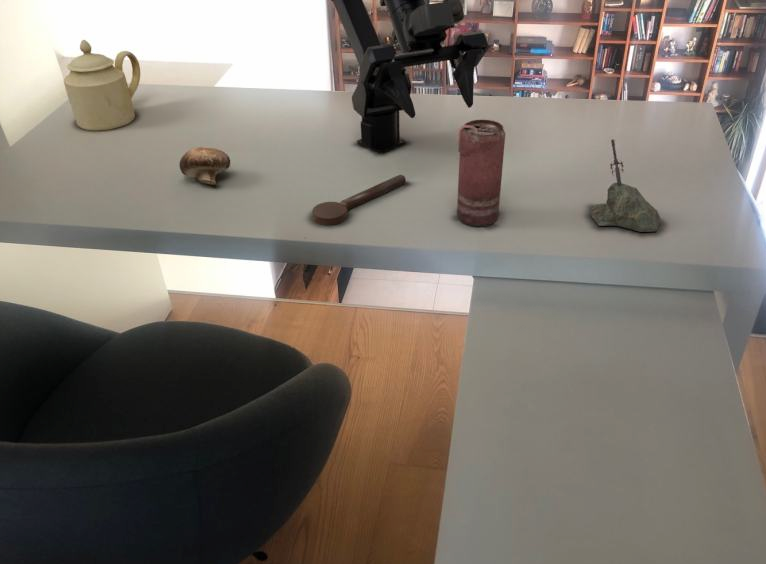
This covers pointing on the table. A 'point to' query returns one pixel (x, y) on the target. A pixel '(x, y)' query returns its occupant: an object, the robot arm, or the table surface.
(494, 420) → the table surface
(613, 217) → the sword in stone
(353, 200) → the wooden spoon
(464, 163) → the can
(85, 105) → the beige ceramic pot
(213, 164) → the mushroom
